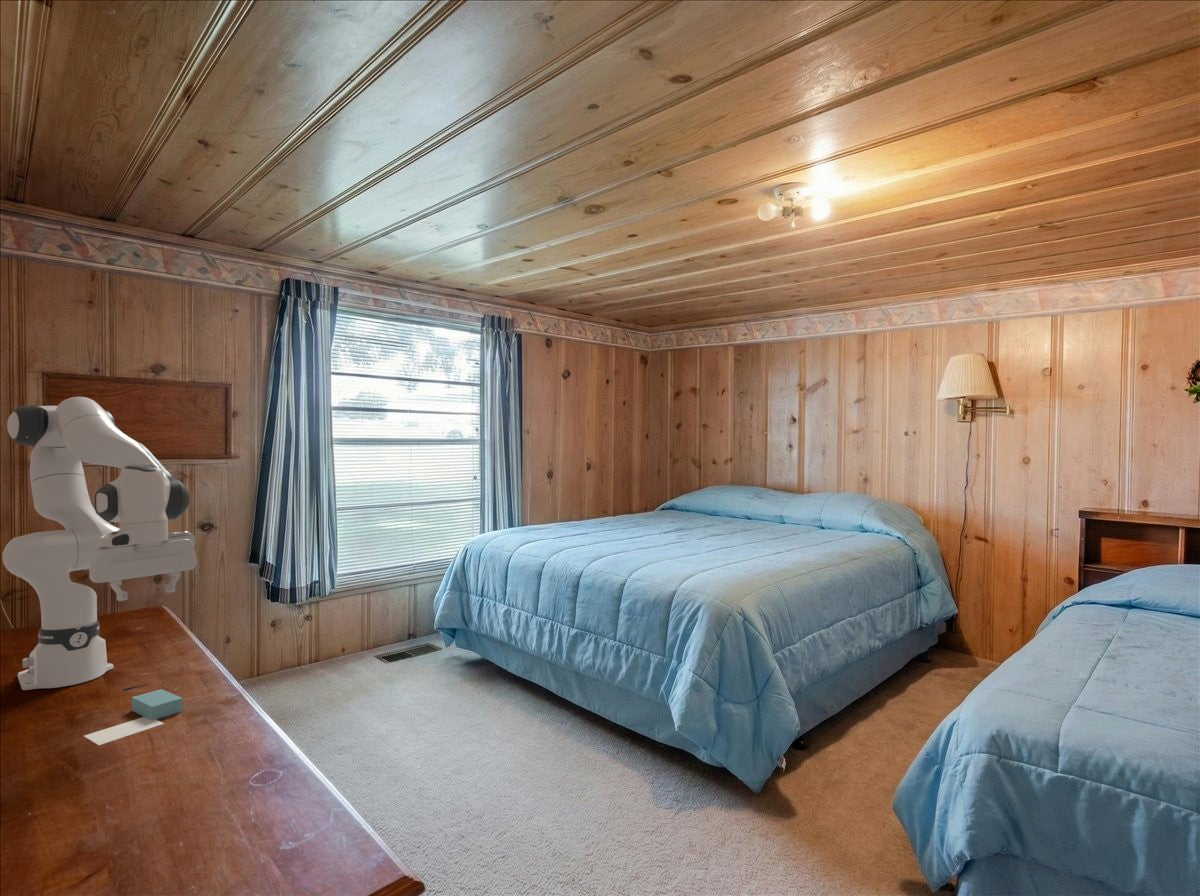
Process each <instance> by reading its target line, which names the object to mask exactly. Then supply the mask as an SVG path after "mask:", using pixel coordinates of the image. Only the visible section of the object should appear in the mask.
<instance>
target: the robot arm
mask: <svg viewBox="0 0 1200 896" xmlns="http://www.w3.org/2000/svg"><path fill="white" fill-rule="evenodd" d="M6 426H7V427H6V428H7V432H8V436H9V437H10V439H11V440H12V442H14V443H15V444H16V445H20V446H25V447H34V448H33V449H31V450H32V451H31V453H30V460H29V477H30V486H31V493H32V494H31V495H32V500H33V506H34V507H33V508H34V510H35V512H36V513H38V515H40V516H41V517H43V518H45V519H47V520H52V521H55V522H57V523H59V524H60V525H62V527H64V528H65V529H59V530H57V529H56V530H47V531H46V530H45V531H37V532H32V533H28V534H23V535H20V536H16V537H12V539H10V541H8V543H7V544H6V545H5V547H4V549H3V551H2V556H1V557H2V563H3V565H4V567H5V569H6V570H7V571H8V572H10V573H11V574H12V575H14V576H16V577H18V578H20V579H22V580H24V581H25V582H27V583H28V584H29V585H30V586H31V587H32V588H33V590H35V592H36V594H37V596H38V601H39V605H40V613H41V614H40V618H41V620H40V621H41V627H40V628H39V631H38V633H37V634H38V635H37V637H38V638H37V642H38V644H36V646H35V647H34V649H33V650H32V651H31V652H29V657H25V658H22V661H21V662H22V663H21V664H22V668H26V669H25V670H22V671H19V672H17V679H18V682H19V685H20V688H21V690H22V691H31V690H37V689H56V688H62V687H68V686H74V685H78V684H82V683H86V682H89V681H92V680H95V679H97V678H99V677H101V676H103V675H104V674H105V673H106V672H108V671H110V670H112V669H114V663H109V662H108V659H107V645H106V639H104V638H102V637H101V636H99V634H100V621H99V620H98V615H97V613H98V604H97V603H98V595H97V593H96V591H95V590H94V589H93V588H92V587H90V586H88V585H86V584H83V583H82V584H81V583H78V582H74V581H72V579H71V577H70V573H71V572H75V571H76V572H77V571H83V570H89V576H88V577H89V579H90V581H91V582H92V583H94V584H101V583H102V584H103V583H110V584H109V586H110V587H111V589H112V590H113V591H114V592H115V594H116V601H118V602H122V601H128V600H129V594H128V593H129V592H128V591H123V590H122V588H121V587H120V586H122V582H123V581H122V580H130V579H135V578H143V577H151V576H156V575H162V574H169V578H170V581H169V582H168V584H164V592H165V593H175V592H176V584H177V582H178V581H179V579H180V577H181V572H183V571H189V570H195V568H196V567H197V564H198V560H197V555H196V549H195V545H196V537H195V535H194V534H192V533H191V532H189V531H187V530H186V531H177V532H173V531H172V532H169V520H175V519H177V518H179V517H180V516H181V515H182V514H183V513H184V512H185V511H186V510H187V509H188V507H189V505H190V493H189V490H188V489H187V488H186V487H187V486H185V485H184V484H183V483H182V482H181V481H180V480H179V479H177V478H176V477H174V476H173V475H172V474H171V473H170V472H169V471H168V470H167V469H166V467H164V465H163V464H162V463H161V462H160V461H159V460H158V459H157V458H156V457H155V456H154V455H153V453H152V452H151V451H150V450H149V449H148V448H147V447H146V446H145V445H144V444H142V443H141V442H140V441H137V440H135V439H133V438H132V437H130V436H129V435H127V434H125V433H124V431H121V430H120V429H119V428H118V427H117V426H116V422H115V418H114V416H113V415H112V414H111V412H110V411H108V410H105V409H104V408H103V407H102V406H101V405H100V404H99V403H97V402H96V401H95V400H93V399H91V398H90V397H89V398H88V397H85V396H73V397H72V396H71V397H69V398H66V399H64V400H62V401H61V402H60V403H59V404H58V405H38V406H37V405H36V404H31V405H24V406H23V405H22V406H18V407H16V408H14V409H13V410H11V412H10V414H9V416H8V419H7V421H6ZM82 462H84V463H86V464H92V465H99V466H104V467H105V466H107V467H112V468H113V467H114V468H119V469H121V470H120V474H119V476H118V477H117V478H116V479H114V480H112V481H111V482H106V483H105V484H103V485H102V486H101V487H100V488H98V490H97V491H96V492H95V494H94V506H93V504H92V502H91V499H90V495H89V491H88V486H87V482H86V476H85V475H86V474H85V471H84V467H83V464H82ZM111 522H112V523H120V527H117V526H115V525H113V524H111ZM27 668H28V669H27Z"/></svg>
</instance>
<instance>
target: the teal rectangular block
mask: <svg viewBox="0 0 1200 896" xmlns="http://www.w3.org/2000/svg"><path fill="white" fill-rule="evenodd" d="M131 711H132V712H134V713H136V714H138V715H139V716H142V717H145V718H147V719H149V720H151V721H152V720H159V719H163V718H165V717H168V716H171V715H176V714H178V713H181V712H183V697H181V696H178V695H176V694H174V693H173V692H170V691H167V690H165V689H163V688H161V689H157V690H153V691H149V692H147V693H143V694H138V695H135V696H132V697H131Z"/></svg>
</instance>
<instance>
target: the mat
mask: <svg viewBox="0 0 1200 896" xmlns="http://www.w3.org/2000/svg"><path fill="white" fill-rule="evenodd" d="M164 724H165V723H164V722H162V721H160V720H159V719H156V720H152V721H151V720H149V719H147V718H145V717H143V716H142V717H139V718H136V719H132V720H130V721H127V722H124V723H120V724H117V725H113V726H111V727H107V728H104V729H100V730H97V731H95V732H94V731H93V732H91V733H89V734H86V735H85V734H84V735H83V737H84V738H86V739H87V740H89V741H90V742H92V743H94V744H96V745H98V746H103V745H105V744H107V743H111V742H114V741H117V740H120V739H123V738H125V737H128V736H132V735H135V734H138V733H140V732H144V731H147V730H150V729H154V728H156V727H159V726H162V725H164Z"/></svg>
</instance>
